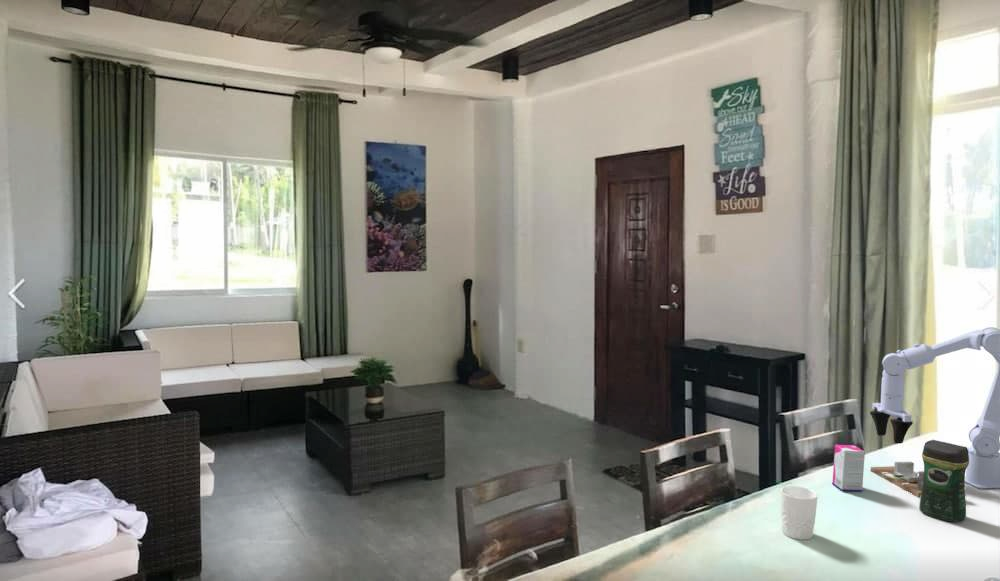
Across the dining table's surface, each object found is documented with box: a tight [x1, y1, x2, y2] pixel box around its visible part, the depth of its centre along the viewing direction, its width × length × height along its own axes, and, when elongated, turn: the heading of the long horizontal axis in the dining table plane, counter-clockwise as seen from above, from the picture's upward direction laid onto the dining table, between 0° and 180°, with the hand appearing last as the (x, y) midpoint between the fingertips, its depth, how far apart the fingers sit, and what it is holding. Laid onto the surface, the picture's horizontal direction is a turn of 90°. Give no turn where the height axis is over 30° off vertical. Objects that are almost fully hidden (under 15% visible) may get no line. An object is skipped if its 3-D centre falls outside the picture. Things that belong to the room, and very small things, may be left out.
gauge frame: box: [870, 465, 924, 498], centre depth 191 cm, size 20×10×6 cm, turn 5°
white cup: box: [780, 485, 819, 541], centre depth 159 cm, size 8×8×10 cm
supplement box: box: [832, 444, 866, 493], centre depth 187 cm, size 6×6×12 cm
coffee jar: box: [918, 439, 969, 522], centre depth 169 cm, size 10×8×19 cm
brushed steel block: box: [893, 461, 920, 482], centre depth 190 cm, size 8×8×4 cm
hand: (889, 439), depth 201 cm, fingers open, 7 cm apart
